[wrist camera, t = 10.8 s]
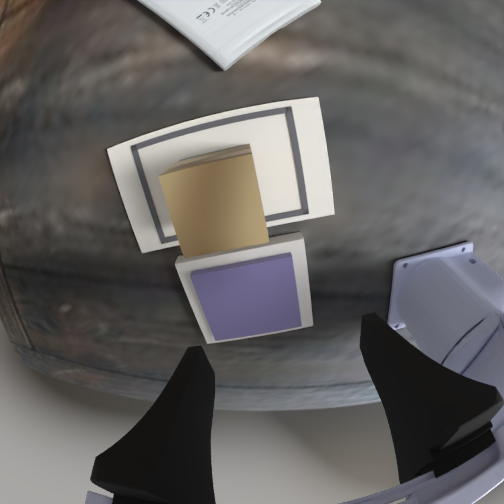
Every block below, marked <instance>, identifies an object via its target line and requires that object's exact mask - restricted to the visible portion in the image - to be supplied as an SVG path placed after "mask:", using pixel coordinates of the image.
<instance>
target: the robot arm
mask: <svg viewBox="0 0 504 504" xmlns="http://www.w3.org/2000/svg"><path fill="white" fill-rule="evenodd" d="M462 248H463V249H462ZM472 250H473V243H472V242H470V241H468V242H465V243H461V244H458V245H454V246H450V247H446V248H443V249H439V250H435V251H431V252H428V253H424V254H420V255H416V256H412V257H408V258H404V259H400V260H397V261H396V262H395V263H394V267H393V279H392V290H391V299H390V307H389V315H388V322H387V323H386V322H385V321H384V320H383V319H382V318H381V317H379V316H378V315H377V314H376V313H375V312H374V313H370V314H366V315H362V323H361V336H360V349H361V352H362V356H363V359H364V362H365V365H366V367H367V370H368V372H369V374H370V376H371V379H372V381H373V383H374V385H375V387H376V390H377V392H378V394H379V397H380V399H381V401H382V404H383V406H384V409H385V412H386V416H387V419H388V423H389V427H390V430H391V435H392V439H393V443H394V448H395V454H396V459H397V466H398V473H399V481H400V484H401V485H398V486H395V487H393V488H390V489H387V490H384V491H381V492H379V493H375V494H372V495H369V496H366V497H363V498H359V499H355V500H352V501H348V502H344V503H340V504H389V503H391V502H394V501H397V500H399V499H402V498H404V497H407V496H408V497H407V498H406V500H405V501H403V502H401V503H398V504H473V503H475V502H476V501H477V500H479V499H480V498H482V497H483V496H484V495H486V494H487V493H488V492H490V491H491V490H492V489H493V488H495V487H496V486H497V485H498V484H500V483H501V482H502V481H503V480H504V279H503V278H501V277H500V276H499V275H498V274H497V273H496V272H495V271H494V270H493V269H491V268H490V267H489V266H488V265H487V264H486V263H485V262H483V261H482V260H481V259H480V258H479V257H478V256H476V255H475V254H474V253H473V252H472ZM404 263H406V264H405V265H404ZM403 265H404V266H403ZM403 327H407V329H408V330H409V332H410V333H411V335H412V337H413V338H414V340H415V342H416V343H417V345H418V347H419V348H420V350H421V351H420V350H418V349H417V348H416V347H414V346H413V345H412V344H410V343H409V342H408V341H407V340H406V339H404V338H403V337H402V336H401V335H400V334H398V333H397V332H396V331H395V330H396V329H400V328H403ZM214 398H215V373H214V371H213V369H212V367H211V365H210V363H209V361H208V359H207V357H206V355H205V353H204V350H203V348H202V346H195V347H188V349H187V350H186V352H185V354H184V356H183V358H182V359H181V361H180V363H179V365H178V367H177V368H176V370H175V372H174V373H173V375H172V377H171V378H170V380H169V382H168V383H167V385H166V387H165V388H164V390H163V391H162V393H161V394H160V395H159V397H158V398H157V400H156V401H155V403H154V404H153V406H152V407H151V408H150V409H149V410H148V412H147V413H146V414H145V415H144V416H143V418H142V419H141V420H140V421H139V422H138V423H137V424H136V425H135V426H134V427H133V428H132V429H131V430H130V431H129V432H128V433H127V434H126V435H125V436H123V437H122V438H121V439H120V440H119V441H118V442H116V443H115V444H114V445H113V446H111V447H110V448H108V449H107V450H106V451H104V452H103V453H101V454H100V455H98V456H97V457H96V459H95V462H94V466H93V470H92V474H91V478H90V480H91V481H92V483H94V484H95V485H97V486H99V487H101V488H103V489H105V490H107V491H109V492H111V493H113V494H114V496H113V498H110V497H107V496H104V495H101V494H98V493H94V492H91V491H88V492H87V497H86V502H85V504H216V503H215V497H214V489H213V479H212V466H211V427H212V418H213V408H214Z"/></svg>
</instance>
